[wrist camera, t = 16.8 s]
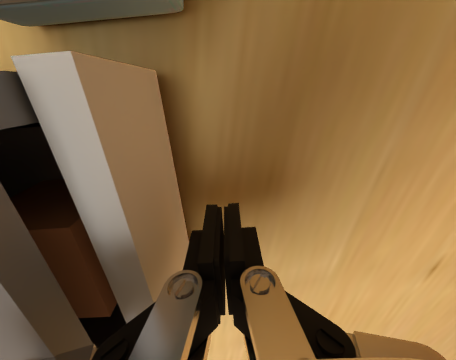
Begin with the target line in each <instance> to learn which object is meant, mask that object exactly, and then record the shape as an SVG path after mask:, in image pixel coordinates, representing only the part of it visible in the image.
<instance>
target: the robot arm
mask: <svg viewBox="0 0 456 360" xmlns="http://www.w3.org/2000/svg"><path fill="white" fill-rule="evenodd" d="M225 280H226V290H227V300H228V310H229V315H233V318H234V325H235V326H236V327H237V328H238V329H239V330H240V331H241V332H242V333H243V335H244V342H245V347H246V352H247V357H248V360H446V359H445V358H444V357H443V356H442V355H440V354H439V353H438V352H437V351H435V350H433V349H432V348H430V347H428V346H426V345H423V344H420V343H417V342H411V341H406V340H401V339H395V338H390V337H384V336H379V335H374V334H368V333H363V332H358V331H354V332H353V334H350V333H345V331H343V330H342V329H341V328H340V327H339V326H337V325H336V324H334V323H333V322H331V321H330V320H328V319H327V318H325V317H324V316H322V315H321V314H319V313H318V312H316V311H315V310H313V309H312V308H310V307H309V306H307V305H306V304H304V303H303V302H301V301H300V300H298V299H297V298H295V297H294V296H292V295H290V294H289V293H287V292H286V291H285V290H284V288H283V286H282V284H281V282H280V280H279V277H278V276H277V274H276V273H275V272H274V271H273V270H271V269H269V268H267V267H264V265H263V260H262V256H261V251H260V246H259V241H258V237H257V232H256V228H255V227H247V228H241V221H240V212H239V203H231V204H228V206H227V207H224V230H223V219H222V208H221V207H218V206H217V204H215V205H207V206H206V212H205V218H204V224H203V230H197V231H192V233H191V237H190V241H189V245H188V250H187V254H186V258H185V262H184V267H183V270H182V271H179V272H176V273H175V274H173V275H172V276H170V277H169V278H168V279H167V281H166V282H165V284H164V286H163V288H162V290H161V292H160V294H159V296H158V298H157V300H156V302H154V303H153V304H152V305H150V306H149V307H148V308H147V309H145V310H144V311H143V312H141V313H140V314H139V315H137V316H136V317H135V318H133V319H132V320H131V321H130V322H128V323H127V324H126V325H124V326H123V327H122V328H120V329H119V330H118V331H116V332H115V333H114V334H113V335H111V336H110V337H109V338H107V339H106V340H105V341H104V342H103V343H102V344H101V345H100V346H97V347H96V346H95V344H92V345H89V346H85V347H82V348H78V349H75V350H72V351H68V352H65V353H61V354H58V355H56V356H55V357H50V358H44V359H41V360H207V356H208V351H209V346H210V341H211V333H212V332H213V331H214V330H215V329H216V328H217V327H218V324H220V315H225Z"/></svg>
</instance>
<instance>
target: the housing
mask: <svg viewBox="0 0 456 360" xmlns="http://www.w3.org/2000/svg"><path fill="white" fill-rule="evenodd" d="M37 122H39V120H38V118H37V116H36V114H35V111H34V109H33V107H32V104H31V102H30V100H29V97H28V95H27V93H26V90H25V88H24V86H23V84H22V81H21V79H20V77H19V74H18V72H10V71H0V130H1V129H6V128H11V127H16V126H22V125H27V124H32V123H37ZM124 325H126V321H125V319H124V317H123V314H122V312H121V310H120V307H119V305H118V303H117V304H116V306H115V308H114V310H113V312H112V314H111V316H110V317H92V318H78V317H77V315H76V313H75V312H74V310H73V308H72V306H71V305H70V303H69V301H68V299H67V298H66V296H65V294H64V292H63V291H62V289H61V287H60V285H59V284H58V282H57V280H56V279H55V277H54V275H53V273H52V272H51V270H50V268H49V266H48V265H47V263H46V261H45V259H44V258H43V256H42V254H41V252H40V251H39V249H38V247H37V245H36V244H35V242H34V240H33V238H32V237H31V235H30V233H29V231H28V230H27V228H26V226H25V224H24V223H23V221H22V219H21V217H20V216H19V214H18V212H17V210H16V209H15V207H14V205H13V203H12V202H11V200H10V198H9V196H8V195H7V193H6V191H5V189H4V188H3V186H2V184H1V182H0V360H41V359H44V358H50V357H55V356H56V355H58V354H61V353H65V352H68V351H72V350H75V349H78V348H82V347H85V346H89V345H92V344H95V346H96V347H97V346H100V345H101V344H102V343H103V342H104V341H105V340H106V339H107V338H109V337H110V336H111V335H113V334H114V333H115V332H116V331H118V330H119V329H120V328H122V327H123V326H124Z"/></svg>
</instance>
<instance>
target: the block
mask: <svg viewBox="0 0 456 360" xmlns="http://www.w3.org/2000/svg"><path fill="white" fill-rule="evenodd" d="M10 200H11V202H12V203H13V205H14V207H15V209H16V210H17V212H18V214H19V216H20V217H21V219H22V221H23V223H24V224H25V226H26V228H27V230H28V231H29V233H30V235H31V237H32V238H33V240H34V242H35V244H36V245H37V247H38V249H39V251H40V252H41V254H42V256H43V258H44V259H45V261H46V263H47V265H48V266H49V268H50V270H51V272H52V273H53V275H54V277H55V279H56V280H57V282H58V284H59V285H60V287H61V289H62V291H63V292H64V294H65V296H66V298H67V299H68V301H69V303H70V305H71V306H72V308H73V310H74V312H75V313H76V315H77V317H78V318H92V317H110V316H111V314H112V312H113V310H114V308H115V306H116V304H117V300H116V298H115V296H114V294H113V291H112V289H111V287H110V284H109V282H108V280H107V277H106V275H105V273H104V270H103V268H102V266H101V264H100V261H99V259H98V257H97V254H96V252H95V250H94V247H93V245H92V243H91V240H90V238H89V236H88V234H87V231H86V229H85V227H84V224H83V222H82V220H81V217H80V215H79V213H78V210H77V208H76V206H75V204H74V201H73V199H72V197H71V194H70V192H69V190H68V187H67V185H66V183H65V180H64V179H58V180H43V181H41V182H40V183H38V184H36V185H34V186H32V187H30V188H28V189H26V190H24V191H22V192H20V193H18V194H16V195H14V196H12V197H11V198H10Z"/></svg>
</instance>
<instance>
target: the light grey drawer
mask: <svg viewBox="0 0 456 360" xmlns="http://www.w3.org/2000/svg"><path fill="white" fill-rule="evenodd" d="M11 58H12V60H13V63H14V65H15V67H16V70H17V72H18V74H19V77H20V79H21V81H22V84H23V86H24V88H25V90H26V93H27V95H28V97H29V100H30V102H31V104H32V107H33V109H34V111H35V114H36V116H37V118H38V120H39V122H37V123H32V124H27V125H22V126H16V127H11V128H6V129H1V130H0V182H1V184H2V186H3V188H4V189H5V191H6V193H7V195H8V196H9V198H11V197H12V196H14V195H16V194H18V193H20V192H22V191H24V190H26V189H28V188H30V187H32V186H34V185H36V184H38V183H40V182H41V181H43V180H58V179H64V180H65V183H66V185H67V187H68V190H69V192H70V194H71V197H72V199H73V201H74V204H75V206H76V208H77V210H78V213H79V215H80V217H81V220H82V222H83V224H84V227H85V229H86V231H87V234H88V236H89V238H90V240H91V243H92V245H93V247H94V250H95V252H96V254H97V257H98V259H99V261H100V264H101V266H102V268H103V270H104V273H105V275H106V277H107V280H108V282H109V284H110V287H111V289H112V291H113V294H114V296H115V298H116V300H117V303H118V305H119V307H120V310H121V312H122V314H123V317H124V319H125V321H126V324H127V323H128V322H130V321H131V320H132V319H133V318H135V317H136V316H137V315H139V314H140V313H141V312H143V311H144V310H145V309H147V308H148V307H149V306H150V305H152V304H153V303H154V302H156V300H157V298H158V296H159V294H160V292H161V290H162V288H163V286H164V284H165V282H166V281H167V279H168V278H169V277H170V276H172V275H173V274H175V273H176V272H179V271H182V270H183V267H184V262H185V258H186V254H187V250H188V245H189V240H188V235H187V229H186V224H185V219H184V214H183V209H182V204H181V198H180V193H179V188H178V183H177V178H176V172H175V167H174V162H173V157H172V152H171V147H170V141H169V136H168V131H167V126H166V121H165V115H164V110H163V105H162V100H161V95H160V90H159V84H158V79H157V74H156V70H152V69H148V68H144V67H139V66H135V65H130V64H126V63H122V62H117V61H113V60H109V59H104V58H100V57H95V56H91V55H87V54H82V53H78V52H73V51H63V52H51V53H40V54H29V55H18V56H11Z"/></svg>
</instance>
